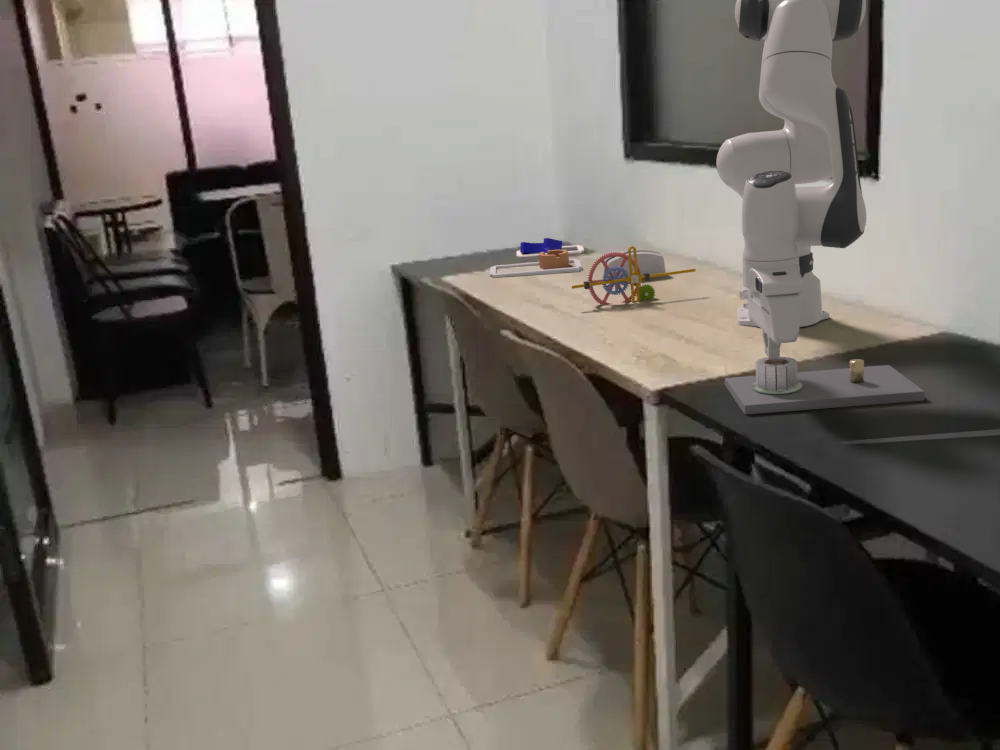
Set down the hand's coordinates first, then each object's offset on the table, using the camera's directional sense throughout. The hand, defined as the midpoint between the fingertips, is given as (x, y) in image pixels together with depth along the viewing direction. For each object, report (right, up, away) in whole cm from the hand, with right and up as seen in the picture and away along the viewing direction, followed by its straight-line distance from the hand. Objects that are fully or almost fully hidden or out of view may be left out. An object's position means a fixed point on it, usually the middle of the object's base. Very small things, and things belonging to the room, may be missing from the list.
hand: (772, 356), depth 174 cm
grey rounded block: (-10, +19, +99) cm, 101 cm away
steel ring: (0, -5, -1) cm, 5 cm away
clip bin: (-30, +31, +145) cm, 151 cm away
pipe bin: (-35, +23, +119) cm, 126 cm away
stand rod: (+13, -4, -2) cm, 14 cm away
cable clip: (-30, +34, +144) cm, 151 cm away
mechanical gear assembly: (-14, +12, +73) cm, 75 cm away
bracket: (-31, +25, +126) cm, 132 cm away
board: (+8, -6, -1) cm, 10 cm away
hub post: (0, -5, -1) cm, 5 cm away
